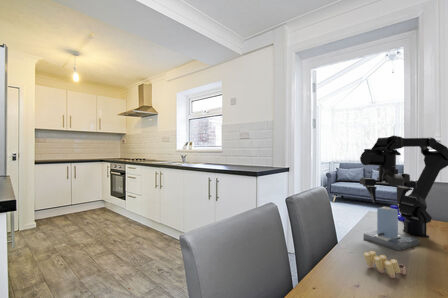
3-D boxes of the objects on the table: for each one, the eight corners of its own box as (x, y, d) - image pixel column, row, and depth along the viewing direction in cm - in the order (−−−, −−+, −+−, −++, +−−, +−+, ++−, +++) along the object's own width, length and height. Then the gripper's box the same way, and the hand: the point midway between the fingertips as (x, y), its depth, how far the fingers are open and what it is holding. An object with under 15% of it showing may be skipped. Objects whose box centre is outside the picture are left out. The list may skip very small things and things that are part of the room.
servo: (387, 237, 89) (387, 204, 89) (400, 241, 85) (400, 207, 85) (372, 242, 84) (372, 207, 85) (384, 246, 80) (384, 210, 81)
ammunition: (389, 263, 59) (407, 258, 62) (362, 252, 66) (379, 247, 69) (389, 281, 59) (407, 275, 62) (362, 268, 65) (379, 263, 69)
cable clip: (387, 216, 122) (387, 205, 122) (396, 216, 121) (396, 205, 121) (402, 223, 110) (402, 211, 110) (412, 223, 109) (412, 211, 109)
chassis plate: (384, 233, 94) (384, 228, 94) (418, 244, 83) (418, 238, 83) (363, 238, 88) (363, 233, 88) (398, 250, 77) (398, 245, 77)
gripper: (371, 166, 86) (371, 206, 86) (426, 168, 83) (426, 210, 83) (359, 164, 97) (358, 200, 97) (407, 166, 94) (407, 203, 94)
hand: (386, 203), depth 92 cm, fingers open, 9 cm apart
